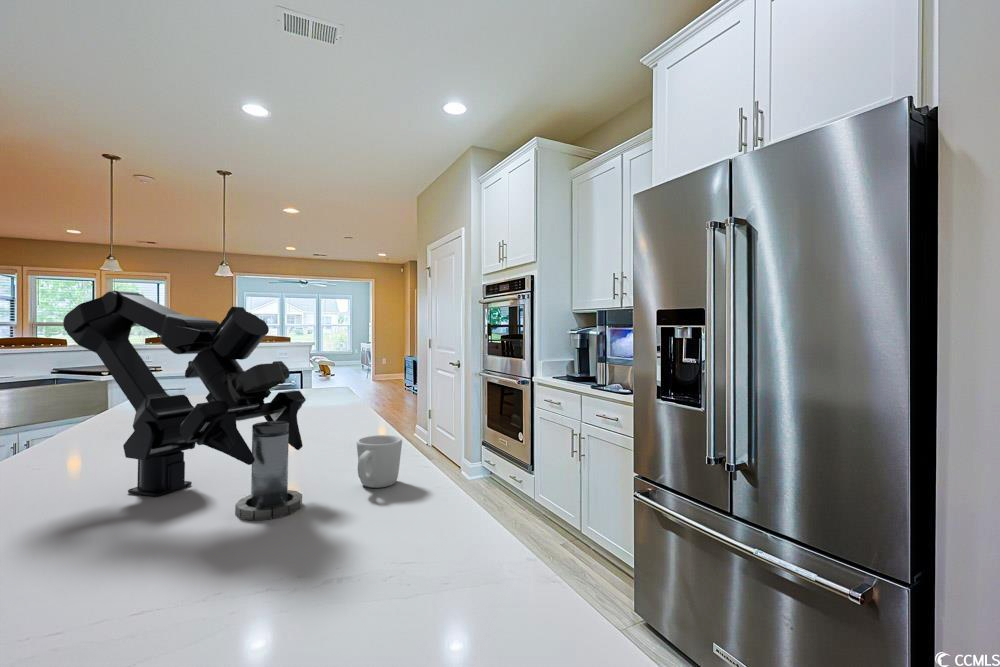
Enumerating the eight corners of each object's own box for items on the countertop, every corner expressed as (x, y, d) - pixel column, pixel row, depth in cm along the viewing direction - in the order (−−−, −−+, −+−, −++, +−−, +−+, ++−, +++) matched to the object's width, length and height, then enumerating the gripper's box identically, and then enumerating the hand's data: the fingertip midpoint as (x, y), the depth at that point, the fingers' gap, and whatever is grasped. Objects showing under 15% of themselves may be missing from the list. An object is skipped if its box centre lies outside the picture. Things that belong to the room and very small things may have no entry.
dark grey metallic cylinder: (247, 516, 67) (248, 428, 67) (254, 504, 71) (256, 421, 71) (284, 513, 68) (286, 426, 68) (289, 501, 73) (290, 420, 73)
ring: (221, 516, 66) (221, 506, 66) (267, 496, 75) (267, 487, 75) (272, 523, 64) (273, 513, 64) (313, 501, 73) (313, 492, 73)
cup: (382, 498, 75) (383, 450, 75) (338, 494, 76) (339, 447, 76) (408, 478, 85) (409, 436, 85) (369, 475, 87) (370, 433, 87)
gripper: (195, 345, 62) (255, 432, 59) (298, 344, 80) (349, 411, 76) (155, 399, 65) (209, 486, 61) (262, 386, 83) (310, 453, 79)
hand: (277, 455), depth 69 cm, fingers open, 9 cm apart
